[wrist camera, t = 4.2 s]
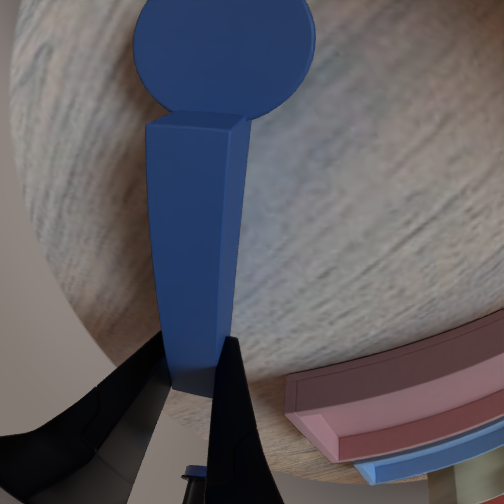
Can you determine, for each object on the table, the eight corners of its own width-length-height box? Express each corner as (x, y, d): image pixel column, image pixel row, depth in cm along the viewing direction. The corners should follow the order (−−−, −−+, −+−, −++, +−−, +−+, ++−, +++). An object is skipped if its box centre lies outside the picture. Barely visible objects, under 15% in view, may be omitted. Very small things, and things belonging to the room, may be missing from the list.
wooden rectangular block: (535, 426, 16) (545, 473, 11) (511, 444, 18) (519, 489, 13) (450, 446, 17) (457, 510, 12) (425, 463, 19) (429, 520, 14)
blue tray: (369, 465, 19) (370, 485, 17) (352, 438, 16) (352, 465, 14) (535, 408, 14) (540, 426, 12) (562, 360, 10) (572, 382, 9)
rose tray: (332, 435, 15) (332, 464, 14) (286, 374, 12) (282, 414, 10) (556, 357, 10) (566, 381, 9) (589, 262, 7) (609, 289, 5)
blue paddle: (158, -25, 5) (103, -50, 3) (322, -21, 5) (333, -61, 2) (162, 328, 11) (139, 380, 9) (259, 348, 11) (250, 406, 9)
